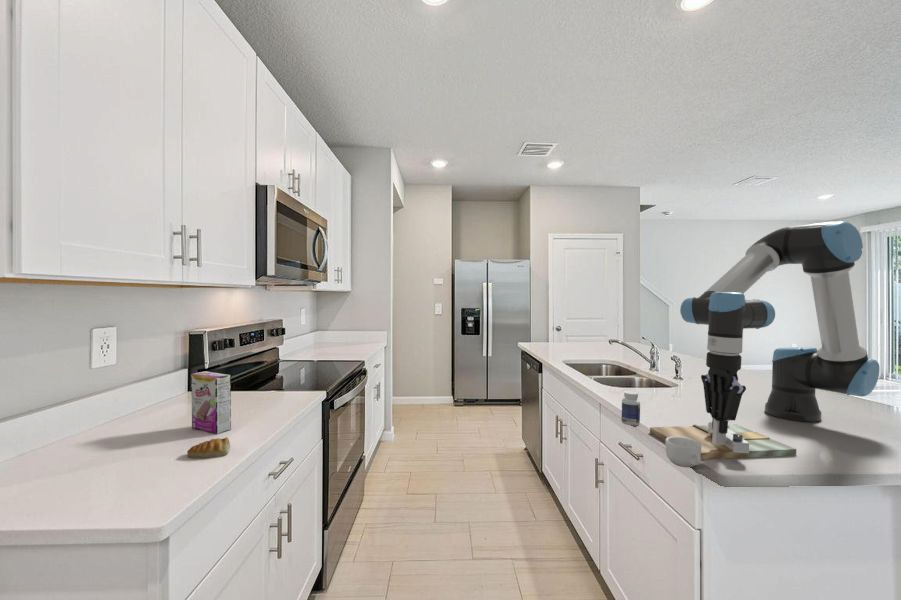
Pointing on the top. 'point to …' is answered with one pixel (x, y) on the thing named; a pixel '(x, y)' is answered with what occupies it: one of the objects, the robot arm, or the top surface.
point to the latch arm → (733, 440)
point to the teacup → (683, 451)
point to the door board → (757, 445)
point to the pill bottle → (630, 409)
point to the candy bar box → (211, 402)
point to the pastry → (210, 449)
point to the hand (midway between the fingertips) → (718, 444)
